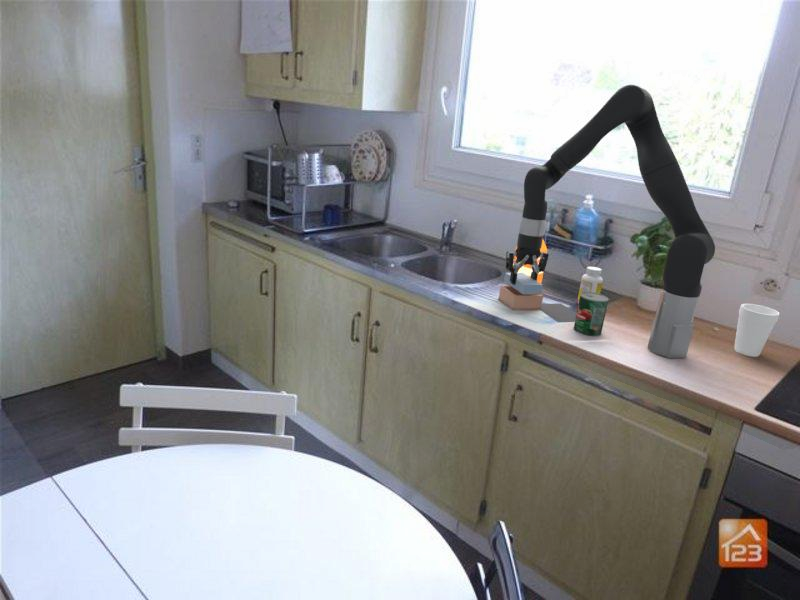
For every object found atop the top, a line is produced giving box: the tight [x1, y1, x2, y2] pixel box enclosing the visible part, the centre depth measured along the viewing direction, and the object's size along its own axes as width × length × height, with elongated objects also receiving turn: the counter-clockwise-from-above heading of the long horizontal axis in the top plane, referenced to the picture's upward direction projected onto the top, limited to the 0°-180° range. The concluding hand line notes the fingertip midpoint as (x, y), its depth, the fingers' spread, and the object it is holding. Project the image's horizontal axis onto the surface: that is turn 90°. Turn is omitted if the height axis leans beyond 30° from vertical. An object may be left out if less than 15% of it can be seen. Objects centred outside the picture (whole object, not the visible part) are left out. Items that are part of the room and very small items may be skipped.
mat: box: [539, 302, 577, 323], centre depth 179 cm, size 16×11×1 cm
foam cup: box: [733, 303, 780, 358], centre depth 159 cm, size 10×9×13 cm
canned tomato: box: [573, 292, 610, 337], centre depth 164 cm, size 8×8×11 cm
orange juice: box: [513, 239, 548, 284], centre depth 200 cm, size 8×9×20 cm
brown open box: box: [498, 285, 544, 311], centre depth 182 cm, size 10×10×5 cm
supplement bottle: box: [577, 266, 604, 304], centre depth 188 cm, size 7×7×13 cm
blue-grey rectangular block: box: [503, 272, 544, 295], centre depth 181 cm, size 13×6×3 cm, turn 17°
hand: (522, 283), depth 181 cm, fingers closed on blue-grey rectangular block, 6 cm apart
